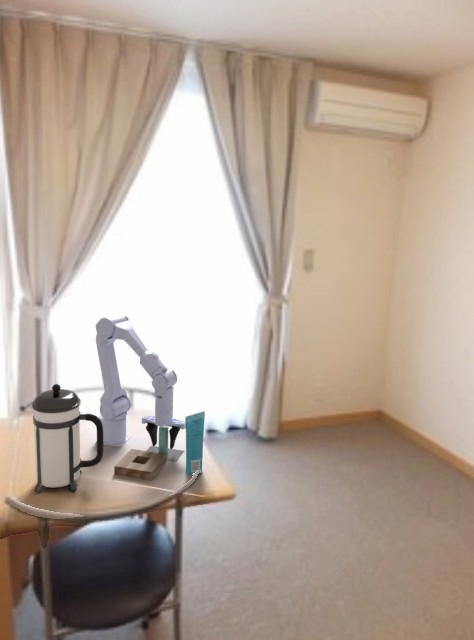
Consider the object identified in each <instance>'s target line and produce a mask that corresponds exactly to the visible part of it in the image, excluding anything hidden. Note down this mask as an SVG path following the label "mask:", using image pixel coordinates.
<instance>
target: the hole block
mask: <svg viewBox="0 0 474 640" xmlns="http://www.w3.org/2000/svg"><path fill="white" fill-rule="evenodd" d="M166 455H167V454H162V453H155V452H149V451H146V450H142V449H136V448H130V450H129V451H128V452H127V453H126V454H125V455H123V457H122V458H121V459H119V461H118V462H117V463H115V465H114V468H113V469H114V471H113V472H114V473H113V474H114V475H118V476H122V477H129V478H135V479H141V480H147V481H153V480H154V479H155V477H156V476H157V475H158V473H159V472H160V471H161V469H162V468H163V467H164V465H166V463H167V460H166Z"/></svg>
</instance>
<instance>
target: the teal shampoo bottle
mask: <svg viewBox="0 0 474 640" xmlns="http://www.w3.org/2000/svg"><path fill="white" fill-rule="evenodd" d="M205 416H206V412H205V410H203V411H200V412H198V413H194V414H190V415H189V414H188V415H187V416H185V422H186V428H185V473H186V474H187V475H190V476H193V475H192V474H193V473H195V472H196V471H197V470H201V474H202V472H203V457H204V456H203V454H204V449H203V448H204V436H205V435H204V433H205V430H204V429H205V420H206V419H205Z"/></svg>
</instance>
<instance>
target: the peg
mask: <svg viewBox="0 0 474 640" xmlns="http://www.w3.org/2000/svg"><path fill="white" fill-rule="evenodd" d="M158 447H159V453H162V454H168V448H169V426H162V427H160V426H158Z"/></svg>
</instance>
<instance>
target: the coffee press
mask: <svg viewBox="0 0 474 640" xmlns="http://www.w3.org/2000/svg"><path fill="white" fill-rule="evenodd" d="M61 387H62V386H61V385H60V384H58V383H55V384H53V385H52V386H51V389H49V390H45V391H42V392H40V393H39V394H37V396H35V397H34V400H33V401H32V402H31V406H30V407H29V408H28V410H27V412H28V413H32V414H33V415H32V421H33V425H34V448H35V449H34V451H35V453H34V454H35V474H36V477H35V478H36V481H37V483H36V485H35V486H34V489H33V491H34V492H35V493H36V494H41V492H42V491H43V490H44V488H46V487H47V488H52V489H53V488H55V489H56V488H61V487H62V488H63V487H68V489H69V492H71V493H73V492H75V491H77V490H78V487H77V485H76V481H77V480H78V479H79V477H80V475H81V474H82V470H81V469H82V468H83V469H84V468H92V467H94V466H97V465H98V464H99V463H100V462H101V461H102V458H103V455H104V445H103V425H102V422H101V420H100V419H99V417H98V416H97V415H95V414H92V413H83V414H82V413H81V411H80V405H81V404H82V403H81V398H80V397H79V396H78V394H77V393H76V392H75V391H72V390H69V389H66V388H65V389H64V388H61ZM80 421H89V422H91V423H93V424H94V426H95V427H96V441H97V444H96V455H95V457H94V458H92V459H87V460H82V458H81V440H80V439H81V434H80V431H81V430H80V427H81V426H80V425H81V424H80Z"/></svg>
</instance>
